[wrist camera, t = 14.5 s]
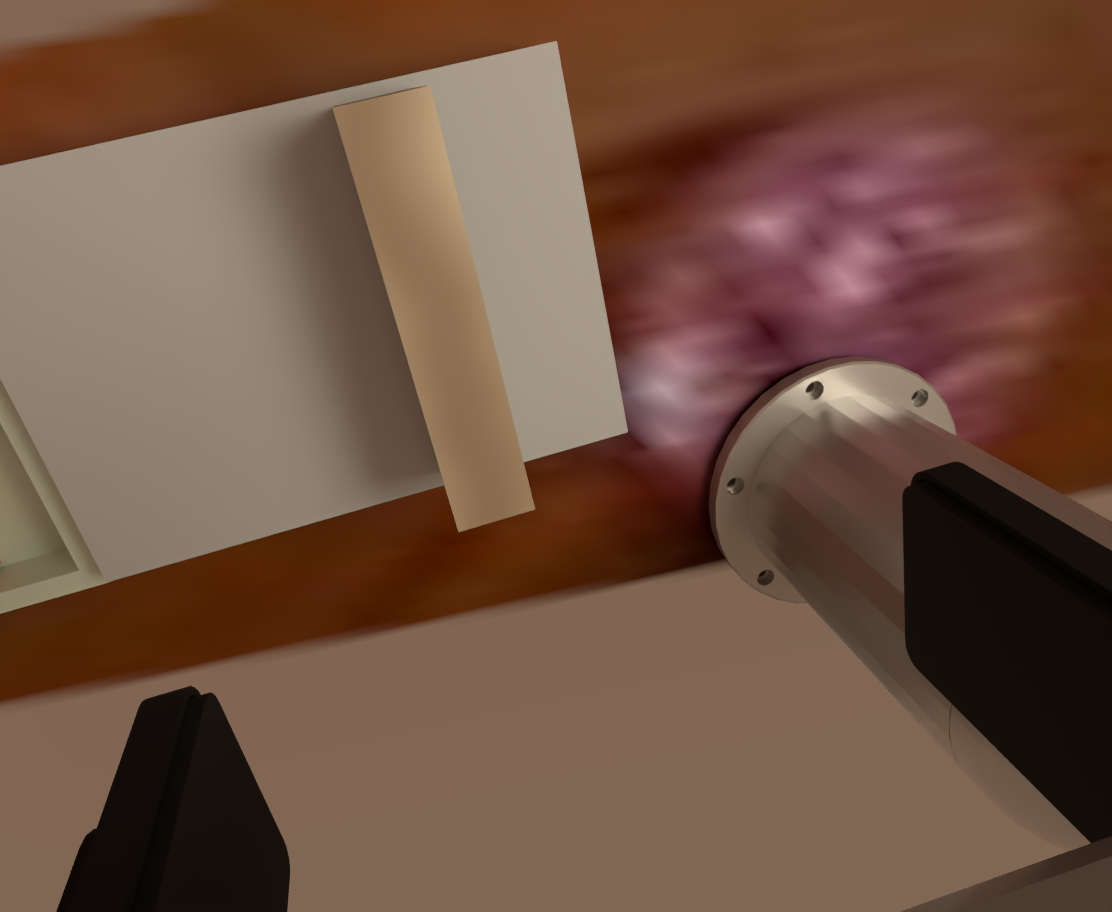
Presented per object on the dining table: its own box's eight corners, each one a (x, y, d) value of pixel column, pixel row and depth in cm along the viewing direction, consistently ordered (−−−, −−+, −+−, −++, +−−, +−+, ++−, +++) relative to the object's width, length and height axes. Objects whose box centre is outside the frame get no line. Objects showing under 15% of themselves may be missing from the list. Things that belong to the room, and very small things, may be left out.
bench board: (531, 47, 31) (556, 41, 27) (600, 399, 37) (627, 432, 33) (-43, 176, 28) (-100, 188, 24) (131, 531, 34) (106, 582, 30)
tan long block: (415, 87, 27) (430, 85, 22) (508, 452, 32) (535, 509, 28) (334, 106, 26) (332, 108, 22) (442, 471, 32) (458, 532, 27)
